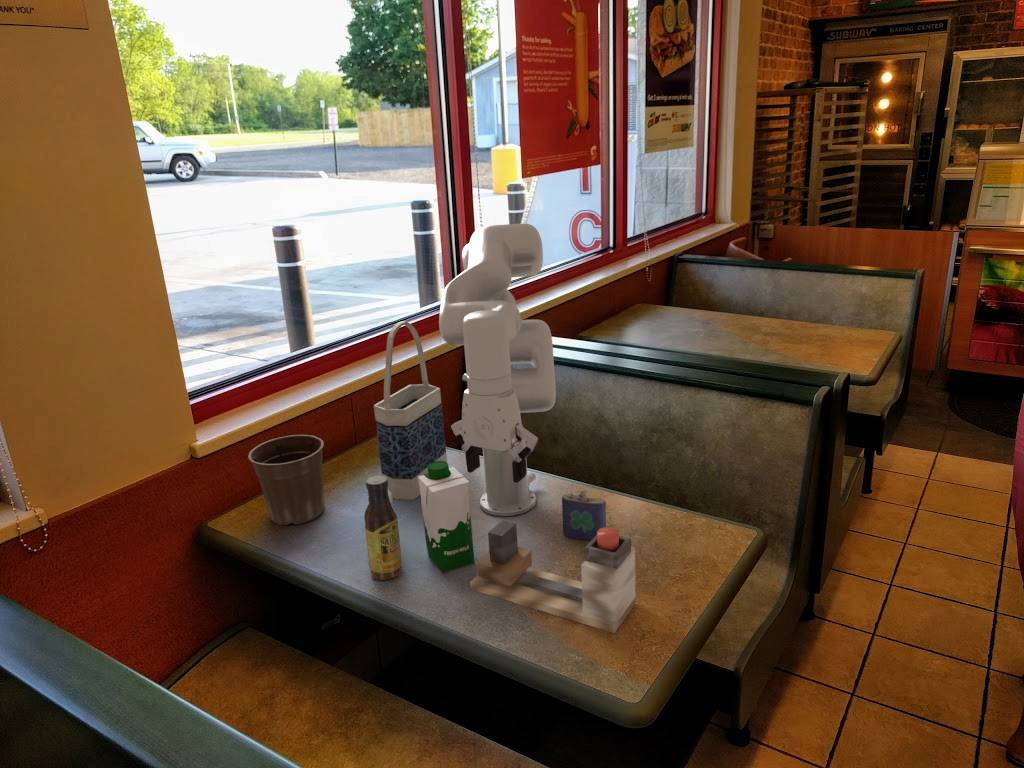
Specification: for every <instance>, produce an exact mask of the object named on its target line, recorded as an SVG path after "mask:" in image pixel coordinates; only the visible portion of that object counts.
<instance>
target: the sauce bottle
mask: <svg viewBox="0 0 1024 768" xmlns="http://www.w3.org/2000/svg"><path fill="white" fill-rule="evenodd" d="M387 487H388V479H387V478H386V477H385V476H382V475H378V476H376V475H374V476H371V477H369V478H367V479H366V480H365V488H366V489H367V496H368V498H369V499H368V498H367V499H368V504H367V507H366V509H365V511H364V517H363V518H364V523H365V525H364V530H365V538H366V539H365V540H366V547H367V557H368V565H369V566H368V567H369V569H370V575H371V577H372V578H374V579H375V580H380V581H384V580H385V581H386V580H390V579H394V578H395V577H397V576H398V575H400V574H401V572H402V564H403V562H402V552H401V551H402V550H401V549H402V548H401V542H400V532H399V531H400V530H399V529H400V528H399V523H398V522H399V521H398V516H397V513H396V511H395V510H394V508H393V506H392V505H393V504H392V505H391V503H390V500H389V496H388V488H387Z"/></svg>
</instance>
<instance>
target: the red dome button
mask: <svg viewBox="0 0 1024 768" xmlns="http://www.w3.org/2000/svg"><path fill="white" fill-rule="evenodd" d="M619 536H620V532H619V530H618V529H617V528H615V527H610V526H606V527H604V528H601V529H599V530H598V531H597V547H598V548H599V549H603V550H607V551H611V552H616V551H617V550H618V548H619Z"/></svg>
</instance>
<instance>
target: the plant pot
mask: <svg viewBox="0 0 1024 768" xmlns="http://www.w3.org/2000/svg"><path fill="white" fill-rule="evenodd" d="M324 446H325V444H324V440H322V439H321V438H320V437H317V436H315V435H310V434H292V435H286V436H281V437H276V438H272V439H270V440H267V441H265V442H262V443H260V444H258V445H257V446H255V447H254V448H253V449H251V450H250V451H249V453H248V456H247V457H248V461H249V462H250V463H252V467H253V469H254V472H255V475H256V476H257V477H258V481H259V484H260V488H261V490H262V493H263V496H264V500H265V504H266V505H267V509H268V512H269V516H270V517H269V518H270V520H271V521H272V522H273V523H275V524H277V525H281V526H289V524H295V525H301V524H305V523H307V522H311V521H312V520H315V519H316V518H318V517H319V516H321V514H322V513H324V509H325V508H326V506H325V505H326V503H325V493H324V492H325V491H324V480H323V479H324V478H323V466H322V465H323V464H322V463H323V459H324V458H323V448H324Z"/></svg>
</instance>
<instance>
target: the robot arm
mask: <svg viewBox="0 0 1024 768" xmlns="http://www.w3.org/2000/svg"><path fill="white" fill-rule="evenodd" d="M543 251H544V250H543V240H542V237H541V234H540V232H539V230H538V229H537V228H536V227H535V226H534V225H532V224H530V223H512V224H495V225H494V224H493V225H491V224H490V225H485V226H482V227H479V228H478V229H476V230H475V231H474V232H473V233H472V235H471V237H470V239H469V243H467V244H466V245H465V246H463V248H462V252H461V258H462V265H463V271H462V272H461V273H459V274H458V275H457V276H456V277H454V278H453V279H452V280H451V281H450V282H448V284H446V286H445V288H444V290H443V292H442V294H441V300H440V306H439V307H440V308H439V315H438V317H439V318H438V325H439V326H438V327H439V332H440V336H441V338H442V339H443V341H444V342H445V343H446V344H448V345H452V346H464V347H463V348H464V357H465V358H464V359H465V370H466V373H464V374H462V378H461V379H462V381H463V382H466V384H467V388H466V389H465V390H464V392H463V397H462V405H461V406H462V407H461V419H460V420H458V421H456V422H454V423H453V424H451V425H450V428H451V430H452V432H453V434H454V435H455V440H456V441H457V442H458V444H460V446H461V450H462V451H463V452H464V453H465V464H466V469H467V470H466V471H467V473H470V474H471V473H473V472H474V471H476V470H478V469H479V468H480V466H481V460H480V449H482V456H483V468H484V471H483V472H484V482H485V493H483V494H482V496H481V497H480V500H479V506H480V508H481V509H482V510H483V512H485V513H487V514H488V515H492V516H498V517H512V516H518V515H522V514H525V513H526V512H527V513H528V512H529V511H530V510H531V509H533V508H534V507H535V506H536V501H537V498H536V495H535V493H534V492H533V491H532V490H531V489H530V485H531V484H532V482H533V481H535V480H536V478H537V476H536V474H535V473H534V472H529V473H528V465H527V461H528V460H527V457H528V456H529V455H530V454H531V453H532V452H533V451H534V450H535V447H536V445H537V443H538V441H539V438H538V437H537V436H536V435H535V434H533V433H532V432H530V431H529V430H528V429H526V428H525V427H524V426H523V424H522V416H521V414H523V413H540V412H542V413H543V412H547V411H550V410H551V409H552V408H553V407H554V406H555V404H556V397H557V396H556V394H557V391H556V377H555V376H556V375H555V362H554V346H553V345H554V344H553V337H552V333H551V332H552V331H551V329H550V326H549V325H548V324H547V323H546V321H543V320H542V319H522V318H521V312H520V310H519V309H518V307H517V301H516V299H515V297H514V295H513V294H512V293H511V292H510V290H509V289H508V288H509V287H510V285H511V282H512V278H520V277H521V278H522V277H533V276H537V275H538V274H539V273H540V271H541V270H542V268H543V262H544V252H543ZM520 364H521V365H524V364H529V365H532V367H523V368H511V367H512V366H511V365H520Z"/></svg>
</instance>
